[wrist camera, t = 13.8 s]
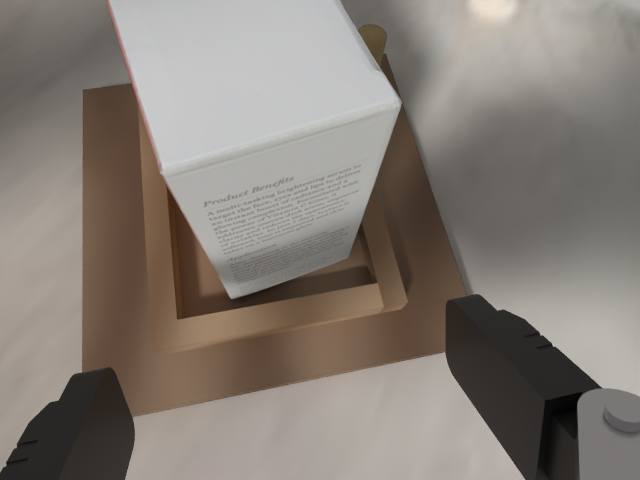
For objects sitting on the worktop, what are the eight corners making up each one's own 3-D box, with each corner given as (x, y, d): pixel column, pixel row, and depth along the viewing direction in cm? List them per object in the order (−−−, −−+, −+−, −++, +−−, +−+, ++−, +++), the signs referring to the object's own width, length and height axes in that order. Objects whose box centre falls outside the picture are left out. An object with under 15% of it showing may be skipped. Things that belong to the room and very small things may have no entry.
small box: (179, 153, 21) (76, -78, 11) (289, 121, 22) (282, -117, 12) (229, 306, 18) (152, 176, 8) (352, 261, 19) (408, 99, 9)
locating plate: (93, 424, 17) (37, 426, 13) (91, 103, 23) (52, 42, 19) (473, 346, 19) (516, 328, 15) (382, 67, 25) (397, 5, 21)
